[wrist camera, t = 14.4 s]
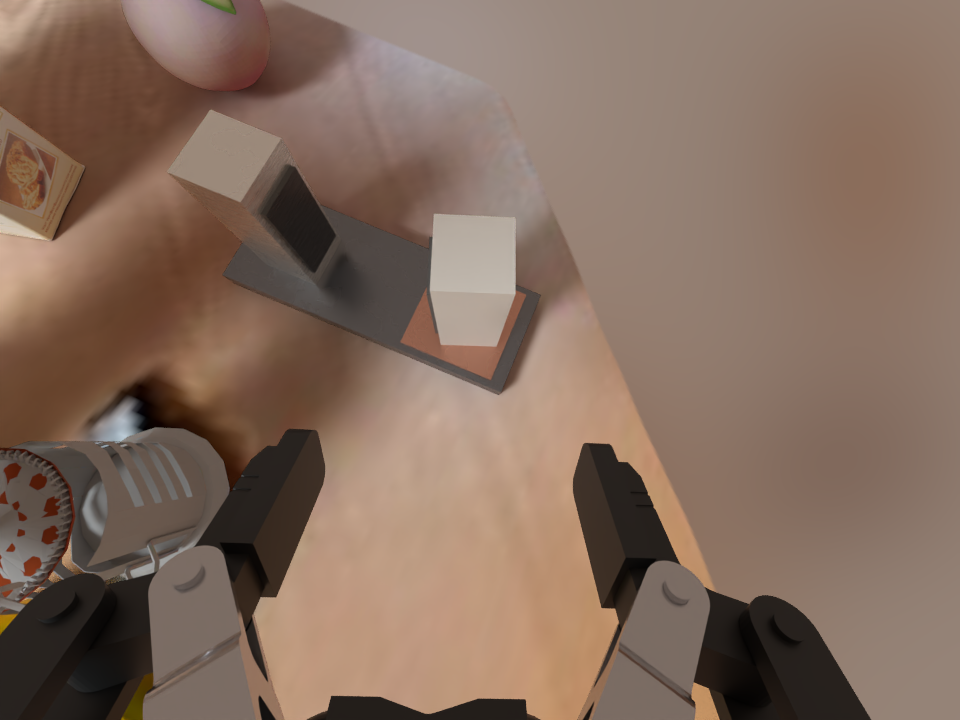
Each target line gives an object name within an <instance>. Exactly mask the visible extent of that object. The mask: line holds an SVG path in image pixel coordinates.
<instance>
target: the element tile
mask: <svg viewBox="0 0 960 720" xmlns="http://www.w3.org/2000/svg"><path fill="white" fill-rule="evenodd" d="M31 600H32V599H26V600H23V601H21V602H20V603H22V604H27V603H28V602H29V601H31ZM16 616H17V614H8V615H0V634H1V633H2V632H3V631H4V630H5V628H6V627H7V626H8V625H9V624H10V623H11V621H12V620H13V619H14V618H15V617H16ZM153 682H154V676H153V673H151V674H147V675H145V676H144V678H143V680H142V681H141V683H140V685H139V687H138V689H137V691H136V693H135V694H134V696H133V698H132V700H131V702H130V704H129V706H128V707H127V709H126V711H125V713H124V715H123V717H122V719H121V720H143V701H144V697H145V694H146V692H147V691H148V690H150V689H152V687H153Z"/></svg>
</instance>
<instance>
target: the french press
mask: <svg viewBox="0 0 960 720" xmlns="http://www.w3.org/2000/svg"><path fill="white" fill-rule="evenodd" d="M94 442H100V441H90V442H85V441H28V442H25V443H22V444H19V445H16V446H13V447H11V448H0V615H8V614H18V613H19V612H20V611H21V610H22V609H23V608H24V606H25V605H26V604H22V603H20V602H21V601H23V600H24V599H25V598H29V599H33V598H34V597H35V596H36V595H38V594H39V593H37V592H34V591H35V590H36V589H37V588H48V587H49V586H51V585H53V584H55V583H53V582H51V581H50V580H48V578H49V576H50V575H51V573H52V572H55V573H56V574H57V575H58V576H59V577H60V578H62V579H65V578H68V577H71V576H74V575H75V574H73V573H72V572H71V571H70V570H68V569H67V568H66V567H65V566H63V565H62V557H63V555H64V554H65V552H66V551H67V549H68V545H69V541H70V537H71V561H72V562H73V563H74V564H75V565H76V566H77V567H79V568H80V569H81V570H82V571H83V572H88V573H98V574H95V575H98V576H100V577H101V578H102V579H103V580H104V581H105V580H108V579H110V578H113V577H116V576H118V575H119V576H121V577H123V578H126V580H128V579H132V578H136V577H139V576H143V575H147V574H151V573H154V572H157V571H158V570H159V569H160V568H161V567H162V566H163V565H164V564H165V563H166V562H167V561H169V560H170V559H171V558H172V557H174V556H176V555H177V554H179V553H181V552H183V551H185V550H187V549H190V548H193V547H194V546H195V545H196V544H197V542H198V541H199V539H200V538H201V536H202V535H203V533H204V532H205V530H206V529H207V527H208V525H209V524H210V522H211V521H212V519H213V518H214V516H215V515H216V513H217V512H218V510H219V509H220V507H221V505H222V504H223V502H224V501H225V499H226V498H227V496H228V495H229V490H230V487H229V482H228V478H227V474H226V470H225V465H224V461H223V460H222V458H221V457H220V456H219V455H218V453H217V452H216V451H215V450H214V448H213V447H212V446H211V444H210V443H209V442H208V441H207V440H206V439H204V438H201V437H199V436H197V435H195V434H193V433H191V432H189V431H187V430H185V429H179V428H153V429H150V430H147V431H144V432H141V433H138V434H135V435H132V436H129V437H127V438H125V439H124V440H123V441H121V442H120V443H117V444H116V443H114V442H103V443H99V444H95V443H94ZM61 445H65V446H68V447H65V448H62V449H50V448H53V447H57V446H61ZM103 445H109V446H108V447H105V448H101V447H100V446H103ZM73 497H74V498H73Z"/></svg>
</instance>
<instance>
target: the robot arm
mask: <svg viewBox="0 0 960 720" xmlns="http://www.w3.org/2000/svg"><path fill="white" fill-rule="evenodd" d="M324 477H325V463H324V458H323V454H322V449H321V445H320V440H319V435H318V432H317V431H316V430H304V429H288V430H287V431H286V432H285V434H284V435H283V437H282V439H281V440H280V442H279V444H278V445H277V446H267V447H266V448H265V449H263V450H262V451H261V452H260V453H259V454H257V455H256V456H255V457H254V458H252V459H251V461H250V462H249V464H248V465H247V467H246V468H245V470H244V472H243V473H242V475H241V478H239V479H238V481H237V482H236V484H235V485H234V487H233V491H231V492H230V493H229V495H228V496H227V498H226V499H225V501H224V502H223V504H222V505H221V507H220V509H219V510H218V512H217V513H216V515H215V516H214V518H213V519H212V521H211V522H210V524H209V525H208V527H207V529H206V530H205V532H204V533H203V535H202V536H201V538H200V539H199V541H198V542H197V544H196V545H195V546H194V547H193V548H190V549H187V550H185V551H183V552H181V553H179V554H177V555H176V556H174V557H172V558H171V559H170V560H169V561H167V562H166V563H165V564H164V565H163V566H162V567H161V568H160V569H159V570H158V571H157V572H154V573H151V574H147V575H143V576H139V577H136V578H132V579H128V580H124V581H120V582H116V583H112V584H109V585H107V584H106V582H105V581H104V580H103V579H102V578H101V577H100V576H98V575H95V574H89V573H86V574H78V575H74V576H71V577H68V578H65V579H63V580H61V581H58V582H57V583H55V584H53V585H51V586H49V587H48V588H46V589H45V590H43V591H42V592H40V593H39V594H38V595H36V596H35V597H34V598H33V599H32V600H31V601H29V602H28V603H27V604H26V605H25V606H24V608H23V609H22V610H21V611H20V612H19V613H18V614H17V616H16V617H15V618H14V619H13V620H12V621H11V623H10V624H9V625H8V626H7V627H6V628H5V630H4V631H3V632H2V633H1V634H0V720H121V719H122V717H123V715H124V713H125V711H126V709H127V707H128V706H129V704H130V702H131V700H132V698H133V696H134V694H135V693H136V691H137V689H138V687H139V685H140V683H141V681H142V680H143V678H144V676H145V675H147V674H151V673H153V676H154V682H153V687H152V689H150V690H148V691H147V692H146V694H145V697H144V701H143V720H284V716H283V713H282V710H281V707H280V704H279V702H278V699H277V697H276V694H275V691H274V688H273V685H272V681H271V677H270V673H269V669H268V666H267V662H266V658H265V654H264V650H263V647H262V643H261V639H260V635H259V631H258V627H257V624H256V620H255V616H254V611H255V609H256V606H257V604H258V602H259V600H260V597H277V594H278V592H279V589H280V587H281V585H282V582H283V580H284V577H285V575H286V572H287V570H288V568H289V565H290V563H291V560H292V558H293V556H294V553H295V551H296V548H297V546H298V543H299V541H300V539H301V536H302V534H303V531H304V529H305V527H306V524H307V522H308V519H309V517H310V515H311V512H312V510H313V507H314V505H315V502H316V500H317V498H318V495H319V493H320V490H321V488H322V485H323V482H324ZM573 494H574V499H575V503H576V507H577V511H578V515H579V519H580V523H581V527H582V531H583V535H584V539H585V543H586V547H587V551H588V555H589V559H590V563H591V567H592V571H593V575H594V579H595V583H596V587H597V591H598V595H599V599H600V603H601V607H602V608H615V609H616V613H617V616H618V620H619V623H618V625H617V627H616V629H615V632H614V634H613V637H612V639H611V641H610V644H609V646H608V649H607V651H606V654H605V656H604V659H603V661H602V664H601V666H600V668H599V671H598V673H597V676H596V678H595V681H594V683H593V686H592V688H591V690H590V693H589V695H588V697H587V700H586V702H585V704H584V706H583V708H582V710H581V712H580V715H579V717H578V719H577V720H694V719H695V709H696V708H695V702H694V701H693V700H692V698H691V692H692V687H693V682H694V683H697V684H699V685H702V686H704V687H707V688H709V690H710V693H711V696H712V699H713V702H714V704H715V707H716V710H717V713H718V716H719V719H720V720H871V719H870V717H869V716H868V714H867V712H866V711H865V709H864V707H863V706H862V704H861V702H860V701H859V699H858V697H857V696H856V694H855V692H854V691H853V689H852V687H851V686H850V684H849V682H848V681H847V679H846V677H845V676H844V674H843V672H842V671H841V669H840V667H839V666H838V664H837V662H836V661H835V659H834V657H833V656H832V654H831V652H830V651H829V649H828V647H827V646H826V644H825V643H824V641H823V639H822V637H821V636H820V634H819V632H818V631H817V629H816V628H815V627H814V625H813V624H812V623H811V622H810V620H809V619H808V618H807V617H806V616H805V615H804V614H803V613H802V612H800V611H799V610H798V609H797V608H795V607H794V606H793V605H791V604H789V603H788V602H786V601H784V600H782V599H779V598H777V597H773V596H768V595H767V596H766V595H765V596H764V595H762V596H758V597H756V598H755V599H754V600H753V601H752V602H751V603H750V604H747V603H744V602H741V601H739V600H736V599H733V598H730V597H727V596H724V595H722V594H719V593H716V592H714V591H711V590H709V589H707V588H705V587H704V586H703V584H702V583H701V582H700V580H699V579H698V578H697V577H696V576H695V575H694V574H693V573H692V572H691V571H689V570H688V569H687V568H685V567H683V566H682V565H681V564H680V563H679V561H678V559H677V557H676V555H675V552H674V550H673V548H672V546H671V543H670V541H669V539H668V537H667V534H666V532H665V530H664V528H663V525H662V523H661V521H660V519H659V516H658V514H657V512H656V510H655V509H654V508H653V506H654V505H653V503H652V501H651V499H650V496H649V495H648V492H647V490H646V487H645V485H644V483H643V481H642V478H641V476H640V475H639V474H638V473H637V472H636V471H635V470H634V469H633V468H632V466H631V465H630V464H629V463H628V462H618V460H617V458H616V455H615V453H614V450H613V448H612V446H611V445H610V444H597V443H584V444H583V446H582V450H581V453H580V456H579V460H578V463H577V467H576V470H575V474H574V478H573ZM307 720H540V719H538V718H536V717H535V716H532V715H530V714H527V711H526V700H524V699H476V700H473V701H470V702H467V703H464V704H461V705H458V706H454V707H451V708H448V709H445V710H442V711H439V712H436V713H432V714H424V713H421V712H419V711H416V710H413V709H411V708H408V707H405V706H403V705H400V704H397V703H395V702H392V701H389V700H387V699H384V698H381V697H361V696H331V699H330V703H329V707H328V711H325V712H322V713H320V714H317V715H315V716H313V717H311V718H309V719H307Z"/></svg>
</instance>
